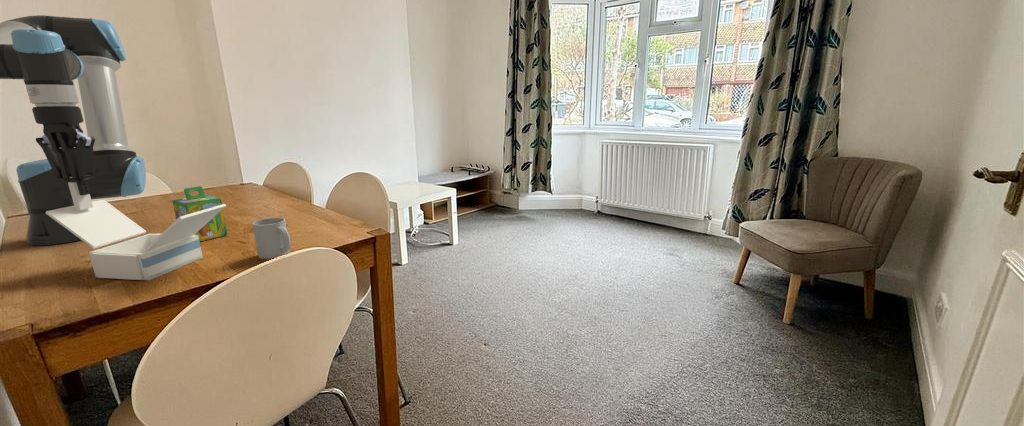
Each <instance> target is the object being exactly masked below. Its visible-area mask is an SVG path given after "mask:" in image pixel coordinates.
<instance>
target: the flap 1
mask: <svg viewBox="0 0 1024 426" xmlns="http://www.w3.org/2000/svg"><path fill="white" fill-rule="evenodd" d="M92 204H93V208H88V209H83V210H75V206H69V207H65V208H60V209H55V210H50V211H46V214H47V215H48V216H50V217H51V218H52V219H54V220H55V221H57V222H58V223H59V224H61V225H62V226H63V227H65V228H66V229H67V230H69V231H70V232H71V233H73V234H74V235H76V236H77V237H78V238H80V239H81V240H80V241H83V242H84V243H85V244H86V245H88V246H89V247H91V248H92V249H93V250H96V249H99V248H101V247H102V248H103V247H104V246H105V247H106V246H109V245H112V244H114V243H115V244H116V243H119V242H120V241H121V242H122V241H126V240H129V239H132V238H136V237H139V236H142V235H145V234H146V233H147V230H145V229H144V228H143V227H141V226H140V225H138V224H137V223H136V222H135V221H133V220H132V219H130V218H129V217H128V216H127V215H125V214H124V213H123V212H121V211H119V209H118V208H116V207H115V206H113V205H112V204H110V202H108V201H107V200H105V198H103V199H98V200H95V201H92Z"/></svg>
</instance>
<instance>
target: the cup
mask: <svg viewBox="0 0 1024 426" xmlns="http://www.w3.org/2000/svg"><path fill="white" fill-rule="evenodd" d="M252 228H253V229H252V230H253V236H254V241H255V247H256V248H255V249H256V252H257V253H256V254H257V257H259V258H260V259H261V260H273V259H272V258H275V257H278V256H282V255H285V254H287V255H289V253H290V252H291V251H290V250H291V245H292V244H291V236H290V233H289V232H288V230H287V229H288V228H287V224H286V219H285V218H284V217H268V218H267V217H266V218H262V219H258V220H255V221H253V222H252Z"/></svg>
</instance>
